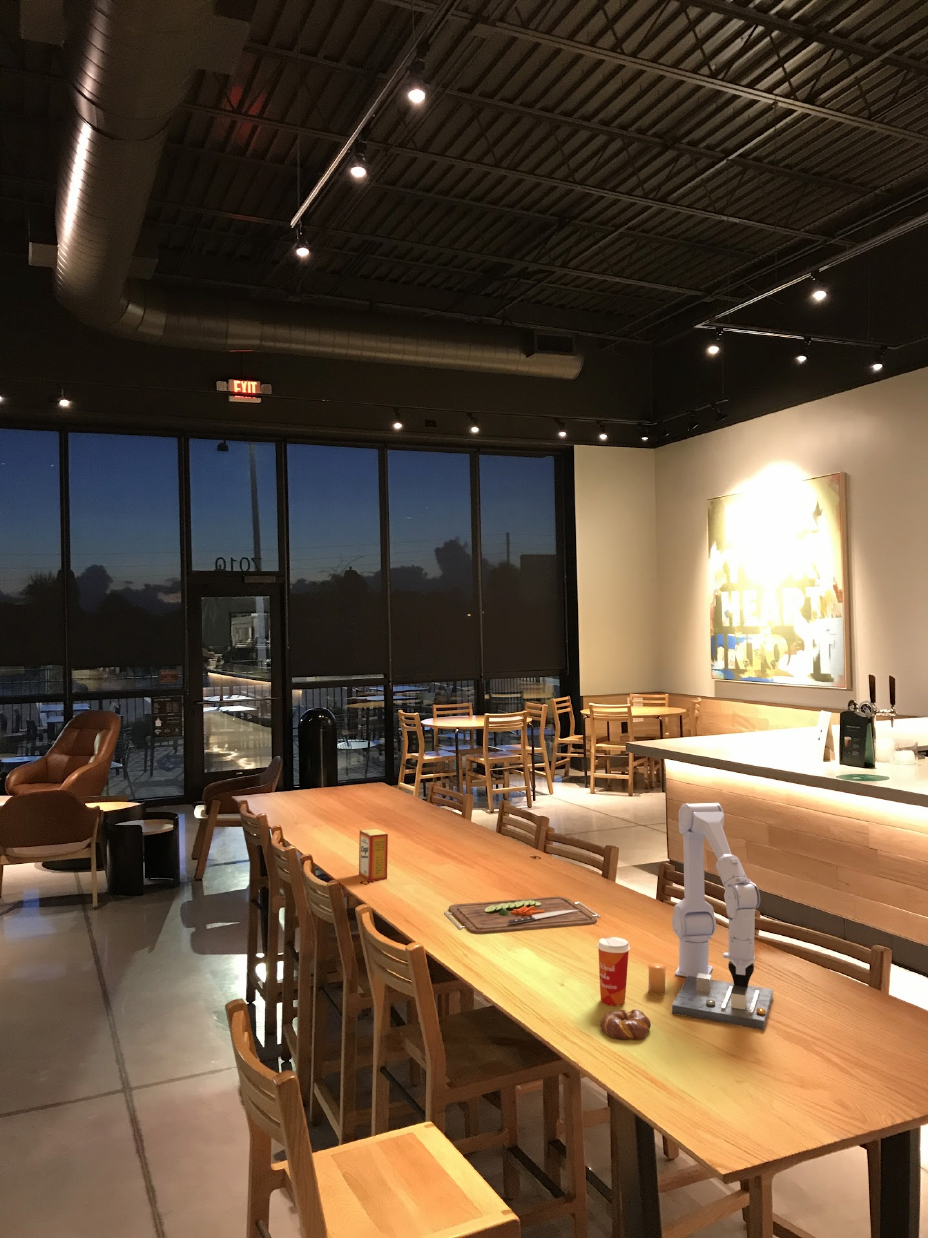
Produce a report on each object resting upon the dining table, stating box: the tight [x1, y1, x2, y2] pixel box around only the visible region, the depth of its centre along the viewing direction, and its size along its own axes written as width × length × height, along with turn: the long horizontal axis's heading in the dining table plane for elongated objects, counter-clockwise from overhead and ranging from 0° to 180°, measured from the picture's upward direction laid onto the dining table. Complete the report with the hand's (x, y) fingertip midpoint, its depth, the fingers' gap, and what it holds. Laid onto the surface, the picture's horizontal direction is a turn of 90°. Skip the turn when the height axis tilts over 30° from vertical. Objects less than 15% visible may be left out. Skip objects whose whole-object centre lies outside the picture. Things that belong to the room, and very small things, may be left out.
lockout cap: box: [647, 962, 666, 995], centre depth 225 cm, size 4×4×6 cm
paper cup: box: [596, 936, 631, 1007], centre depth 219 cm, size 8×8×14 cm
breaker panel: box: [671, 973, 774, 1031], centre depth 217 cm, size 20×20×5 cm
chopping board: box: [443, 896, 601, 935], centre depth 284 cm, size 45×27×3 cm, turn 108°
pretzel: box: [600, 1008, 652, 1041], centre depth 203 cm, size 12×11×4 cm
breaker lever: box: [731, 985, 747, 1010], centre depth 212 cm, size 3×3×4 cm
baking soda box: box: [358, 828, 389, 882], centre depth 325 cm, size 10×6×16 cm
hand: (740, 995), depth 214 cm, fingers closed
